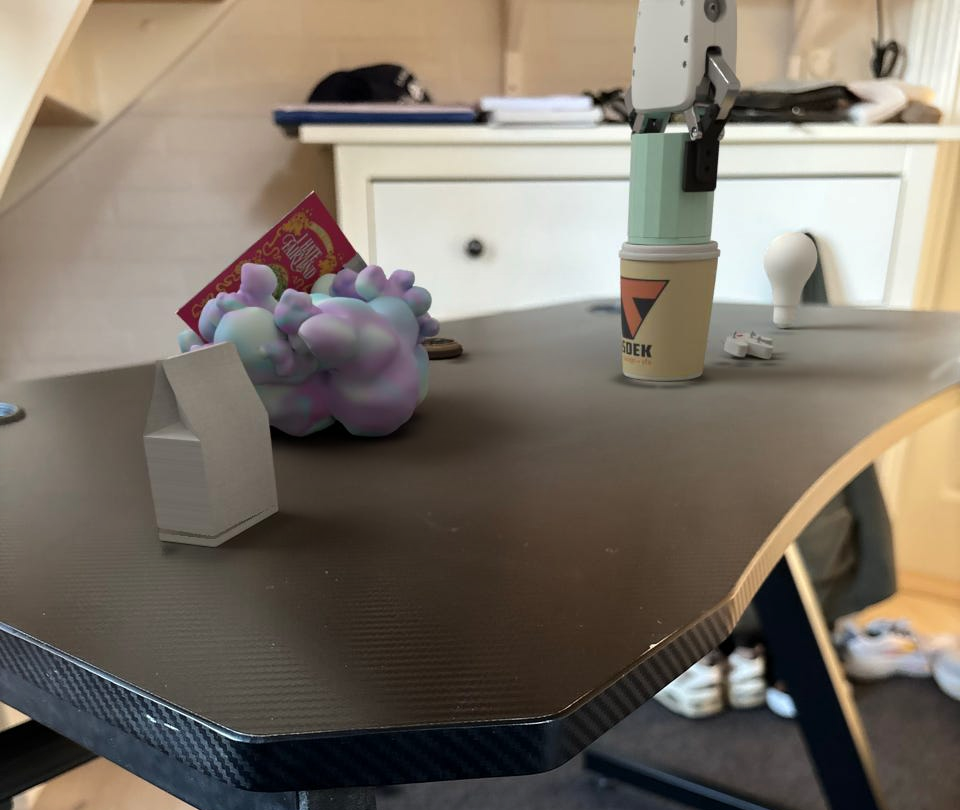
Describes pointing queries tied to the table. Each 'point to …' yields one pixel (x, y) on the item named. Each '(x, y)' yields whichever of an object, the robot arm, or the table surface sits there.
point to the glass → (664, 194)
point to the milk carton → (208, 446)
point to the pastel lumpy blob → (318, 328)
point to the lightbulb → (789, 273)
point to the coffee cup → (666, 308)
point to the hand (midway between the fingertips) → (672, 189)
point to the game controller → (748, 345)
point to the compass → (441, 347)
